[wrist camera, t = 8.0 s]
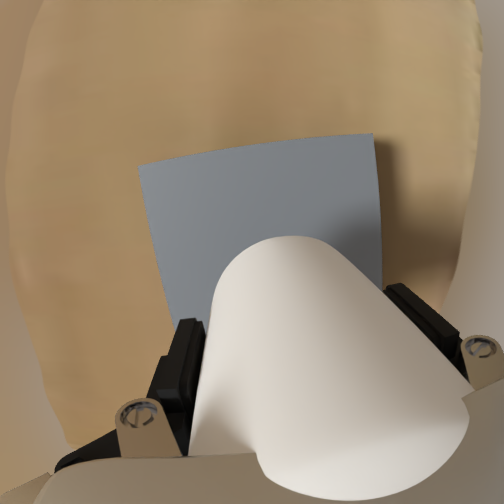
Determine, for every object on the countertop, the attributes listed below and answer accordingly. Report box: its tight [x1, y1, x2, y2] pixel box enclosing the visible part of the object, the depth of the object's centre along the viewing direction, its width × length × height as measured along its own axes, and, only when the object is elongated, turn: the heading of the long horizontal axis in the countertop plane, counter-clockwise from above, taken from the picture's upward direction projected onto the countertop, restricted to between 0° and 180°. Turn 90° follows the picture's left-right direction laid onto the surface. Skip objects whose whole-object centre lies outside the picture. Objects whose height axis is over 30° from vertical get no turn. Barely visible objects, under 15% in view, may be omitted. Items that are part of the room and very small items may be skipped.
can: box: [188, 236, 475, 501], centre depth 8 cm, size 6×6×12 cm
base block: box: [138, 133, 382, 333], centre depth 21 cm, size 14×14×4 cm
